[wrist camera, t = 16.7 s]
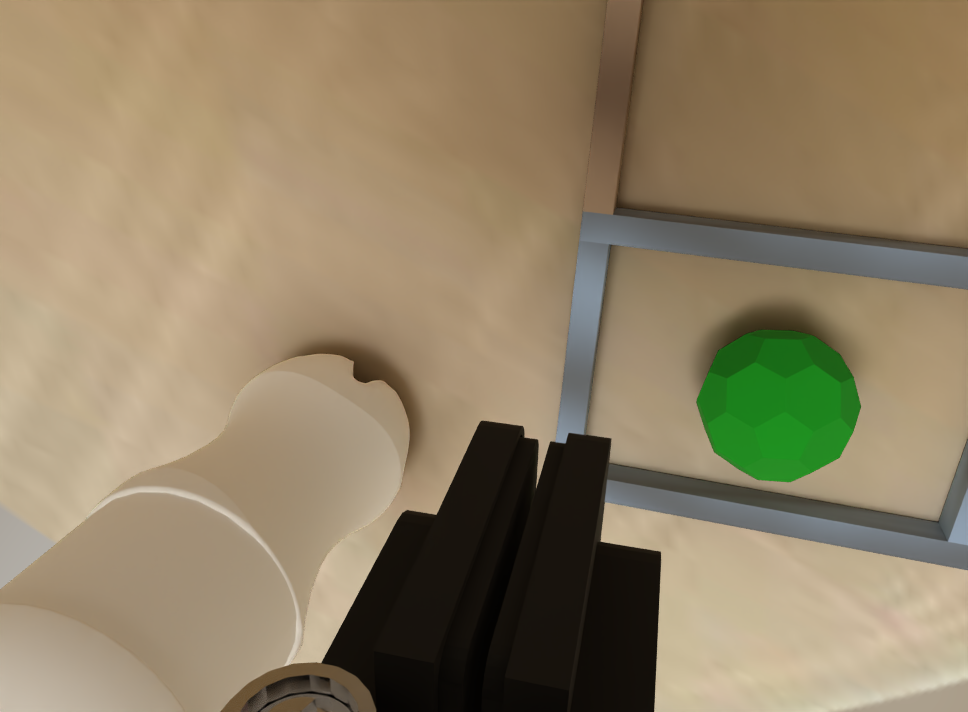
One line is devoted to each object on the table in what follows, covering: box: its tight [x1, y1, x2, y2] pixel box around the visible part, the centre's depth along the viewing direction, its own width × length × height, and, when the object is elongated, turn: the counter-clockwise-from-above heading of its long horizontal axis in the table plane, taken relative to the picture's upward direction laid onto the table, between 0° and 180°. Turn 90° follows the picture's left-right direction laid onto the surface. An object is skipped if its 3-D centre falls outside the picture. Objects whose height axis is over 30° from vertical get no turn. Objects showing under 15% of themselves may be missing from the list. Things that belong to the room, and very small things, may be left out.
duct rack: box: [556, 0, 968, 570], centre depth 26 cm, size 21×15×1 cm
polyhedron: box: [696, 330, 861, 482], centre depth 26 cm, size 5×5×5 cm
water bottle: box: [0, 354, 410, 712], centre depth 22 cm, size 7×7×25 cm
